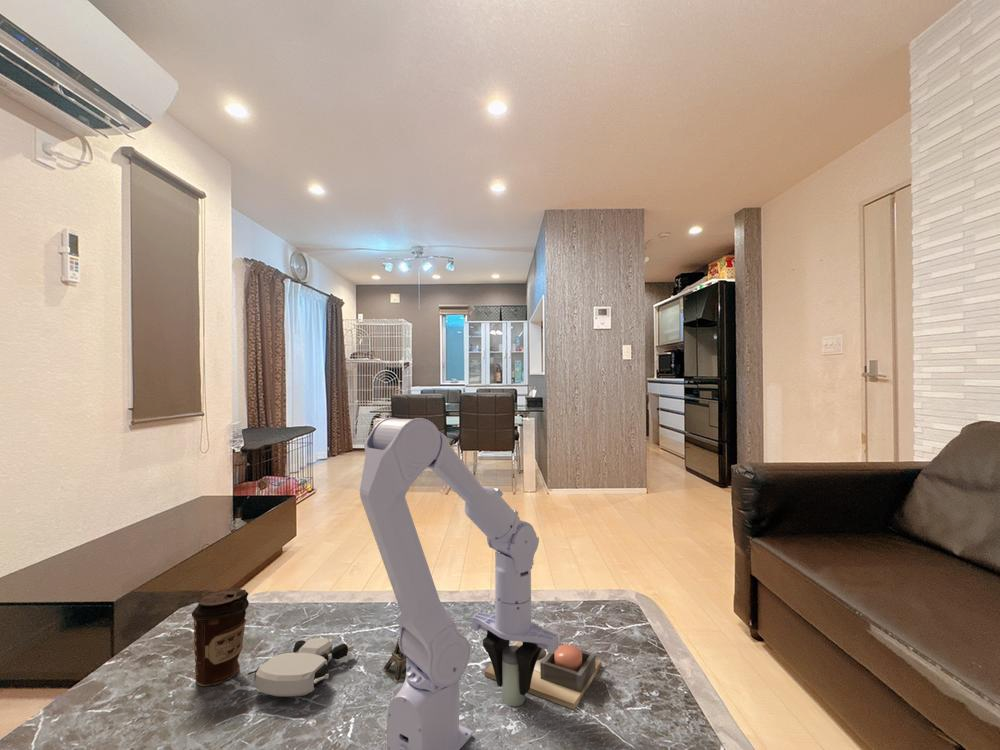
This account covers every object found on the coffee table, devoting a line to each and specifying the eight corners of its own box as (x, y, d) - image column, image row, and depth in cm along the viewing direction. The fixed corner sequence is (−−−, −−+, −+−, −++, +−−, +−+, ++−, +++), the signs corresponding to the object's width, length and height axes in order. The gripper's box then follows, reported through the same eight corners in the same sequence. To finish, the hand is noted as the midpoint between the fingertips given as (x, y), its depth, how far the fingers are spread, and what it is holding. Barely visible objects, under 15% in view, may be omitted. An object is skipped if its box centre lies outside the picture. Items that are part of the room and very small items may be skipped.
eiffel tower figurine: (423, 704, 66) (424, 614, 67) (359, 702, 67) (361, 612, 68) (442, 651, 81) (442, 577, 82) (389, 649, 82) (391, 576, 83)
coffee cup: (259, 665, 76) (262, 589, 77) (216, 695, 68) (221, 609, 69) (220, 657, 78) (224, 583, 79) (175, 685, 70) (180, 603, 71)
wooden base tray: (574, 709, 64) (573, 686, 64) (484, 676, 72) (484, 655, 73) (601, 665, 75) (600, 646, 75) (521, 640, 83) (521, 623, 84)
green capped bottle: (518, 709, 64) (517, 660, 65) (498, 701, 66) (498, 653, 67) (528, 696, 67) (528, 649, 68) (509, 688, 69) (509, 643, 70)
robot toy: (296, 656, 80) (236, 704, 65) (298, 630, 81) (239, 671, 66) (357, 662, 78) (311, 711, 64) (359, 635, 79) (313, 678, 64)
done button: (576, 676, 68) (576, 663, 69) (550, 667, 71) (549, 654, 71) (586, 661, 72) (586, 649, 73) (561, 654, 75) (560, 642, 75)
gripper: (565, 597, 68) (566, 688, 66) (488, 578, 75) (488, 660, 74) (546, 615, 62) (547, 715, 60) (464, 593, 69) (464, 682, 68)
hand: (513, 687), depth 67 cm, fingers closed on green capped bottle, 3 cm apart
